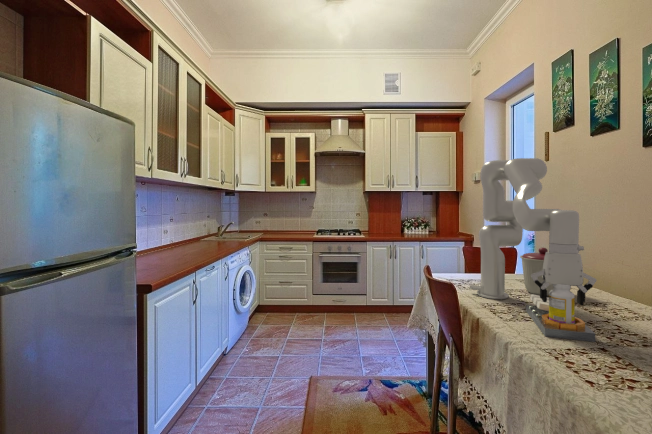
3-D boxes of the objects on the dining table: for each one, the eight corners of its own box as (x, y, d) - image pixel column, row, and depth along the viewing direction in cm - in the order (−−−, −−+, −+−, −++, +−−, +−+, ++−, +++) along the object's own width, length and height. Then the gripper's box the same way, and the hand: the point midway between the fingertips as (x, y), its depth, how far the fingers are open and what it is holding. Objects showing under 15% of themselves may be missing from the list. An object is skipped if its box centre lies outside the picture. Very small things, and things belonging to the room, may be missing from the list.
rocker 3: (538, 308, 112) (540, 302, 112) (536, 306, 115) (537, 300, 115) (573, 316, 109) (574, 310, 108) (570, 313, 111) (571, 307, 111)
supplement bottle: (566, 320, 107) (566, 281, 107) (579, 327, 101) (580, 285, 100) (544, 319, 108) (544, 280, 108) (556, 326, 101) (557, 285, 101)
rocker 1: (531, 301, 121) (532, 295, 121) (529, 298, 124) (530, 293, 124) (563, 307, 118) (564, 302, 118) (560, 305, 121) (561, 299, 121)
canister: (573, 300, 139) (574, 250, 138) (524, 296, 145) (524, 249, 144) (559, 290, 156) (560, 246, 155) (516, 287, 162) (516, 244, 161)
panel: (545, 336, 100) (545, 323, 100) (526, 311, 125) (526, 300, 125) (595, 342, 96) (595, 328, 96) (565, 314, 120) (565, 303, 120)
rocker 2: (535, 304, 117) (536, 298, 116) (533, 302, 119) (534, 296, 119) (568, 312, 113) (569, 306, 113) (565, 309, 116) (566, 303, 116)
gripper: (591, 248, 104) (590, 301, 105) (529, 246, 110) (527, 296, 111) (602, 252, 97) (600, 309, 98) (534, 249, 103) (533, 303, 104)
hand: (561, 302), depth 104 cm, fingers open, 9 cm apart
